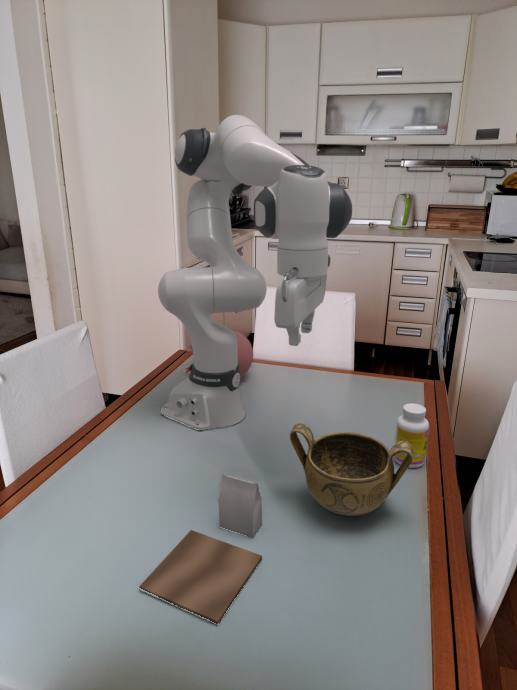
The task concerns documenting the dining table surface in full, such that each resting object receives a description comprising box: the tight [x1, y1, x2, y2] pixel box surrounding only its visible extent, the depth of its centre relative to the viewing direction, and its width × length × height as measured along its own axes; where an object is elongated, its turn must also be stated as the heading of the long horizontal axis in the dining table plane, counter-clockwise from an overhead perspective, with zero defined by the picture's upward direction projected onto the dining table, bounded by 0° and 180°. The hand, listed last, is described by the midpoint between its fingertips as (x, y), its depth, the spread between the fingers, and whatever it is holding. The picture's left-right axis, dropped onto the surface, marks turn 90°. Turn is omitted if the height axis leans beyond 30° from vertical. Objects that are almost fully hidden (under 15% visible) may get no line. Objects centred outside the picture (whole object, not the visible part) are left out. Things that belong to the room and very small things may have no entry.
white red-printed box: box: [217, 474, 263, 539], centre depth 87 cm, size 4×7×10 cm, turn 65°
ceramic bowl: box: [289, 422, 413, 517], centre depth 93 cm, size 22×17×15 cm
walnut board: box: [139, 529, 263, 624], centre depth 78 cm, size 14×14×1 cm
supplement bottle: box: [393, 402, 430, 469], centre depth 106 cm, size 7×7×13 cm
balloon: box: [189, 329, 254, 378], centre depth 151 cm, size 15×20×15 cm
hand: (300, 338), depth 91 cm, fingers open, 6 cm apart
